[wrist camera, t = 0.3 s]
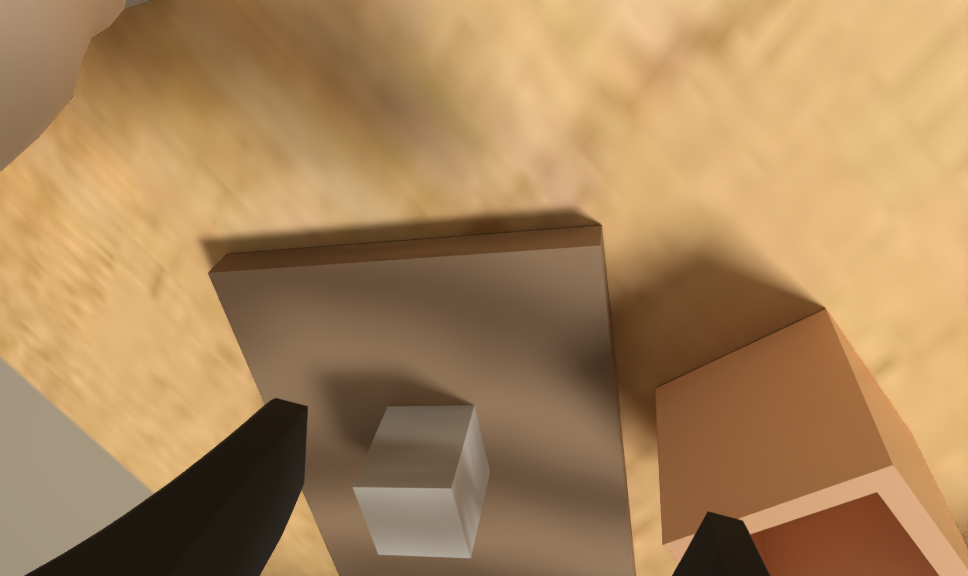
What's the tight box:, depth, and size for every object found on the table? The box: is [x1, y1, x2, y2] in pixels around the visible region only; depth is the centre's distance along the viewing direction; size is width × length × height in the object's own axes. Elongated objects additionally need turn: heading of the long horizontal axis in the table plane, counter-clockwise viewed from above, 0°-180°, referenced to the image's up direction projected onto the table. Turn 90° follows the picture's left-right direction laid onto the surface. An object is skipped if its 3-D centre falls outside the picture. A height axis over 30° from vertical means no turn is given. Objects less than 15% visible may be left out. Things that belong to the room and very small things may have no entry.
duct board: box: [208, 225, 636, 576], centre depth 23 cm, size 18×12×5 cm, turn 10°
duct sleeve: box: [655, 309, 968, 576], centre depth 19 cm, size 6×6×6 cm
